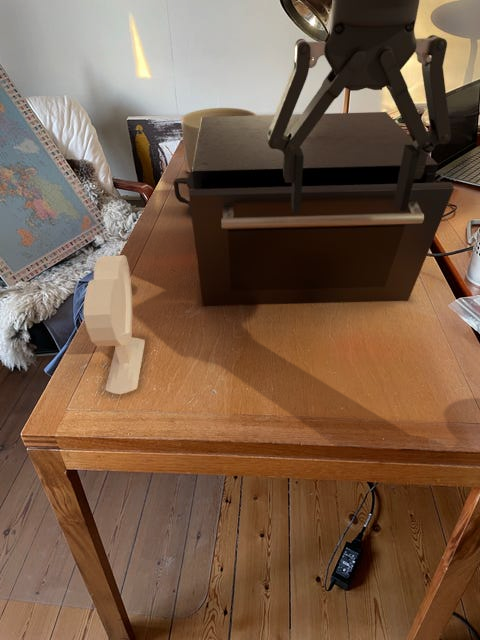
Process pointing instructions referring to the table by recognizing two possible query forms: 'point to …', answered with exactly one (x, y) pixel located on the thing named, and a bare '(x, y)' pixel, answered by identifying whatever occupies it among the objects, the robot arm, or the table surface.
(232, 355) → the table surface
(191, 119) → the planter
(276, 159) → the oven
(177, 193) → the mug
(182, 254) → the table surface
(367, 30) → the robot arm
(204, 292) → the oven door
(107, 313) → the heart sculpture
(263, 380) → the table surface
